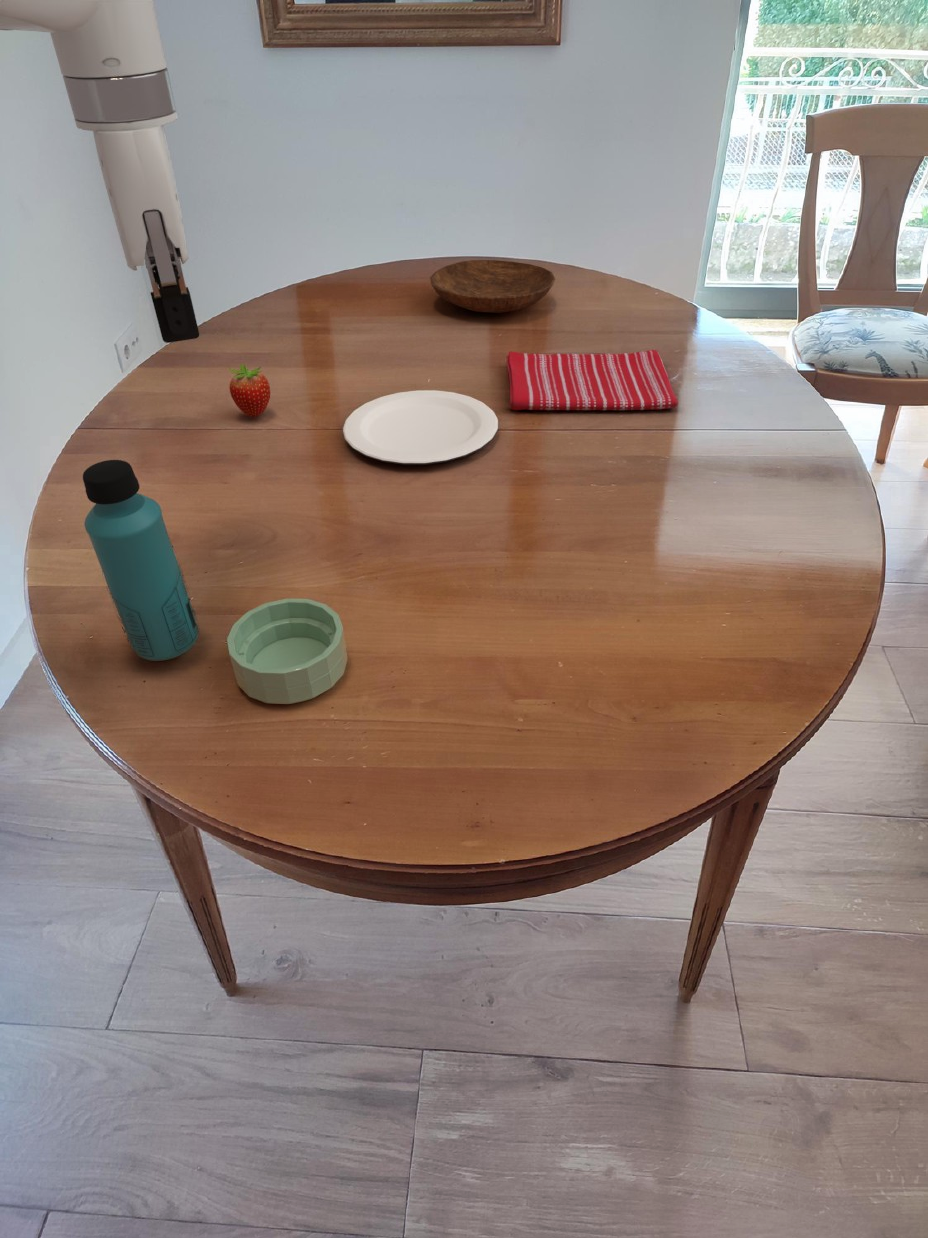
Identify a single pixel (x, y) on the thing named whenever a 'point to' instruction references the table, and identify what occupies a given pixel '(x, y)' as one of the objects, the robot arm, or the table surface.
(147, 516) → the beverage bottle
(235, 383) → the fruit
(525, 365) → the dish towel
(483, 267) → the bowl
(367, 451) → the plate
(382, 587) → the table surface
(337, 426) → the table surface
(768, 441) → the table surface
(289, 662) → the celadon bowl
